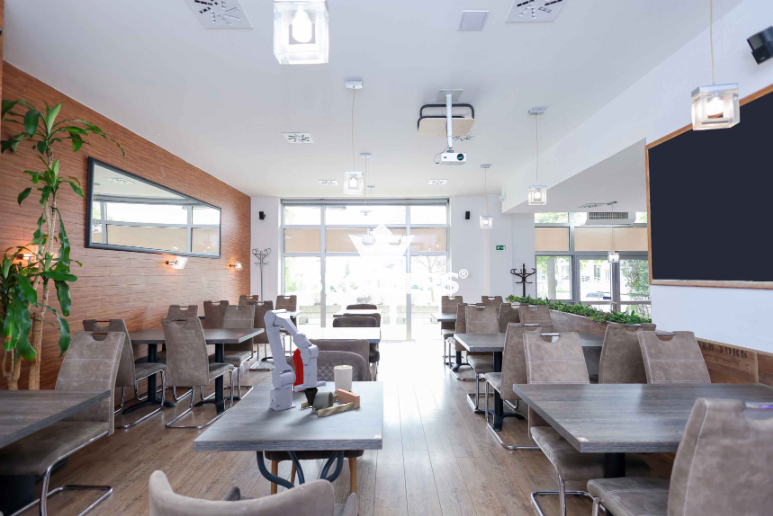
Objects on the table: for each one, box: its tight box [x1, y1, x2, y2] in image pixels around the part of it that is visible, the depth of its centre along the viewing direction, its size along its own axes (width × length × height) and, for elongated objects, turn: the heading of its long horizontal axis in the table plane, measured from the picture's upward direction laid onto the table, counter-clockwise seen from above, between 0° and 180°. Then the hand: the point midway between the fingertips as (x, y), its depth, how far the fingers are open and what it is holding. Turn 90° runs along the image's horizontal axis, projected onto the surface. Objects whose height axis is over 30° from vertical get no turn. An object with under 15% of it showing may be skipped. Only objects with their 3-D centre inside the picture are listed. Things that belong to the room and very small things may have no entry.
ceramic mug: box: [311, 391, 335, 415], centre depth 186 cm, size 11×8×8 cm
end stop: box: [336, 389, 361, 409], centre depth 196 cm, size 2×16×5 cm, turn 38°
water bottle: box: [291, 347, 304, 393], centre depth 223 cm, size 9×11×25 cm
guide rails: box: [300, 394, 357, 418], centre depth 190 cm, size 19×16×2 cm
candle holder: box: [333, 365, 354, 393], centre depth 218 cm, size 10×10×12 cm
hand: (310, 405), depth 184 cm, fingers closed
